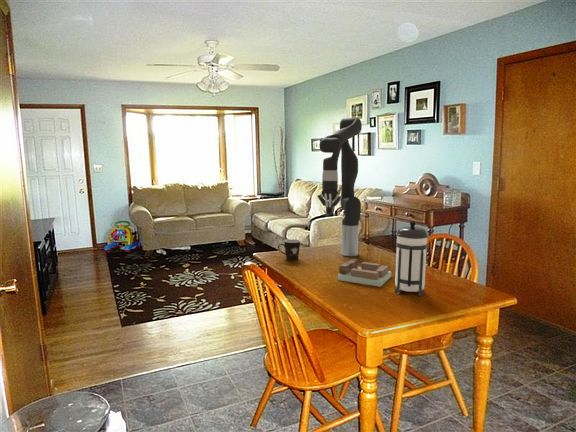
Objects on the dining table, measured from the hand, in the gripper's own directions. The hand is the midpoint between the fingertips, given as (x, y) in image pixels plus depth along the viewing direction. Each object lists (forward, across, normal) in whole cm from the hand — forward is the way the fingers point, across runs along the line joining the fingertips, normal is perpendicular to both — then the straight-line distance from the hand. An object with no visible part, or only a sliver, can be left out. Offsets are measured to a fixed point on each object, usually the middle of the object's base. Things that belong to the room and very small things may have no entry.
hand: (329, 214), depth 215 cm
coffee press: (+27, +46, -15) cm, 55 cm away
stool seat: (+27, +22, -7) cm, 36 cm away
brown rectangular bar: (+24, +14, -7) cm, 29 cm away
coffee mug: (+27, -25, +3) cm, 37 cm away
